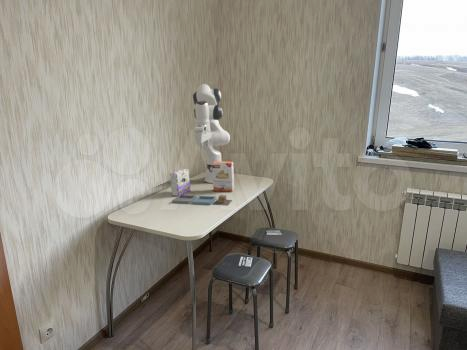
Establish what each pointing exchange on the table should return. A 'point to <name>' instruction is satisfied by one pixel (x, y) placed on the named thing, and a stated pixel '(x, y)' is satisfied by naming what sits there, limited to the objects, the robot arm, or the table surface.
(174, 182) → the candy box
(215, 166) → the cracker box
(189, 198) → the charcoal tray
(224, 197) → the letter cube
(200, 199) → the slate tray
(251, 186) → the table surface
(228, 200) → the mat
